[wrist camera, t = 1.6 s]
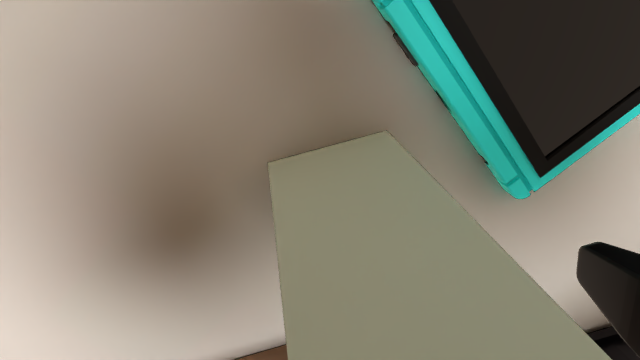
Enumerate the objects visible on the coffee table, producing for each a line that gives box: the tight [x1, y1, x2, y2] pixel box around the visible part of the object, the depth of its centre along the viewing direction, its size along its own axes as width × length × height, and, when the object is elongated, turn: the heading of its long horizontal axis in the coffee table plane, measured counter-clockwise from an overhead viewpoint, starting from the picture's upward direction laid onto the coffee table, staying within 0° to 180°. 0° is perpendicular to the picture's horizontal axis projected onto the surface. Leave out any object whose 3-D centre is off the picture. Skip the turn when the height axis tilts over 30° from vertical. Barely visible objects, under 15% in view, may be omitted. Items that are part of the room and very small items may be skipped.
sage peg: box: [268, 131, 612, 360], centre depth 10 cm, size 4×4×9 cm
